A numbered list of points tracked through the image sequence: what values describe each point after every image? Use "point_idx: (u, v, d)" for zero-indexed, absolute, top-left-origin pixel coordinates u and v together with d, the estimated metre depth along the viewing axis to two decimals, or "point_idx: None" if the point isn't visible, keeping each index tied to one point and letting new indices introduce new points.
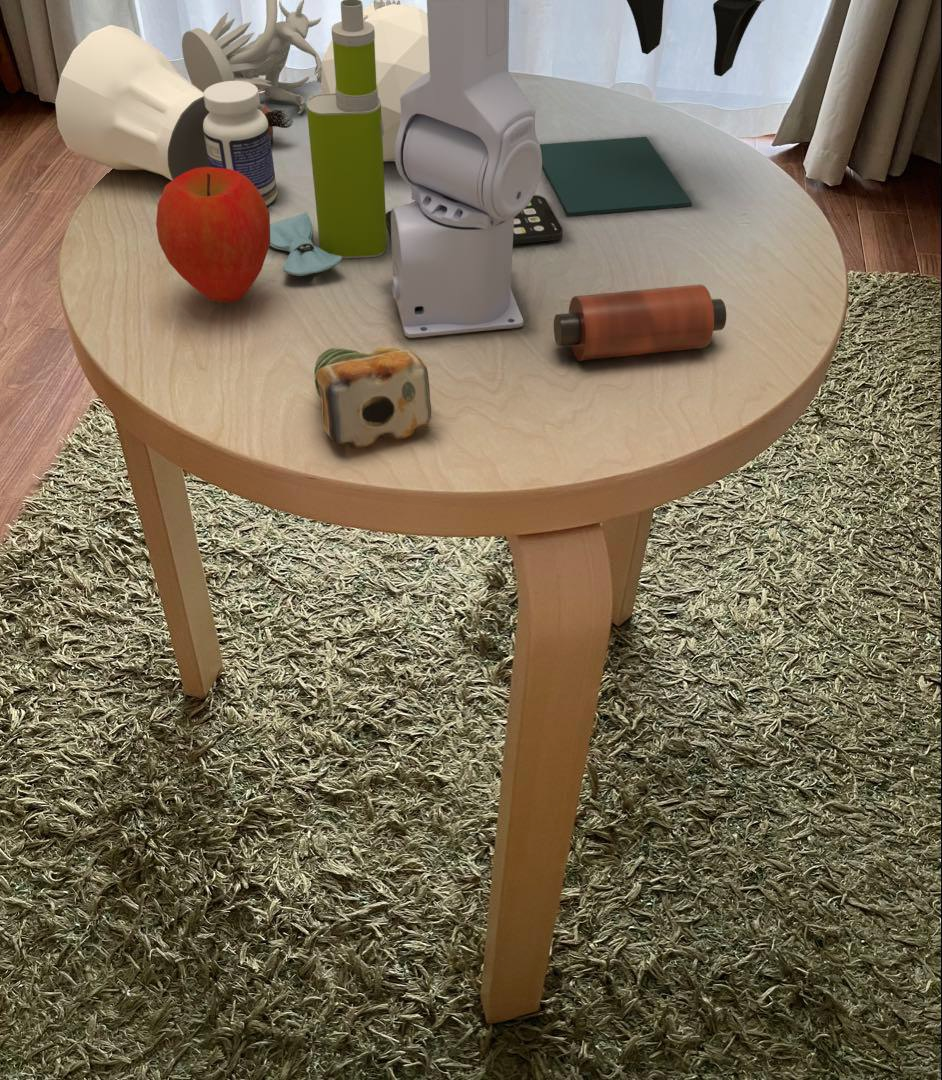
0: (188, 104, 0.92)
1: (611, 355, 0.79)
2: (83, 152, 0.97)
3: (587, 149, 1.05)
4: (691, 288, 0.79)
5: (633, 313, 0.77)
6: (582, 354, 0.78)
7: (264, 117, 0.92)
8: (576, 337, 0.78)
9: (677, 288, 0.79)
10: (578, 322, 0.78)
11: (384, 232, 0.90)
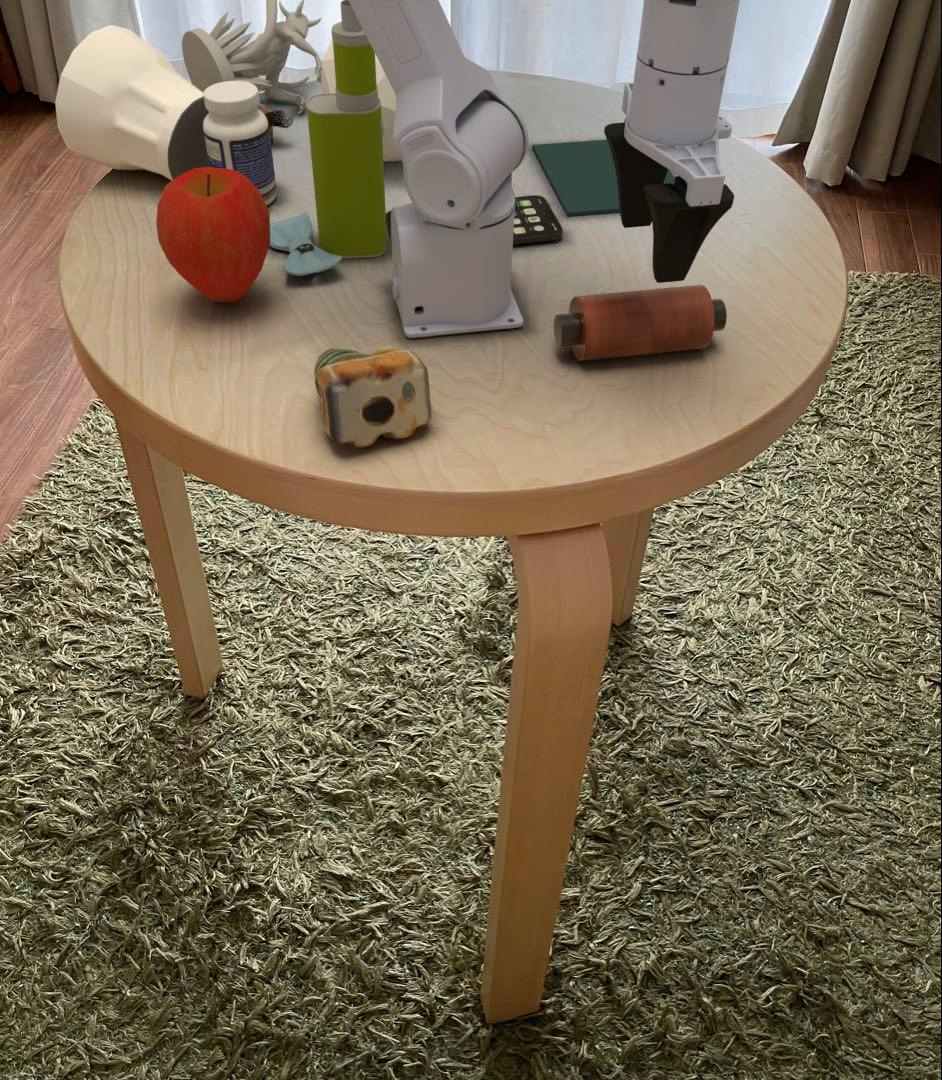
0: (188, 104, 0.92)
1: (611, 356, 0.79)
2: (83, 152, 0.97)
3: (587, 149, 1.05)
4: (692, 289, 0.79)
5: (634, 315, 0.77)
6: (583, 355, 0.78)
7: (264, 117, 0.92)
8: (576, 338, 0.78)
9: (678, 289, 0.79)
10: (578, 323, 0.78)
11: (384, 232, 0.90)
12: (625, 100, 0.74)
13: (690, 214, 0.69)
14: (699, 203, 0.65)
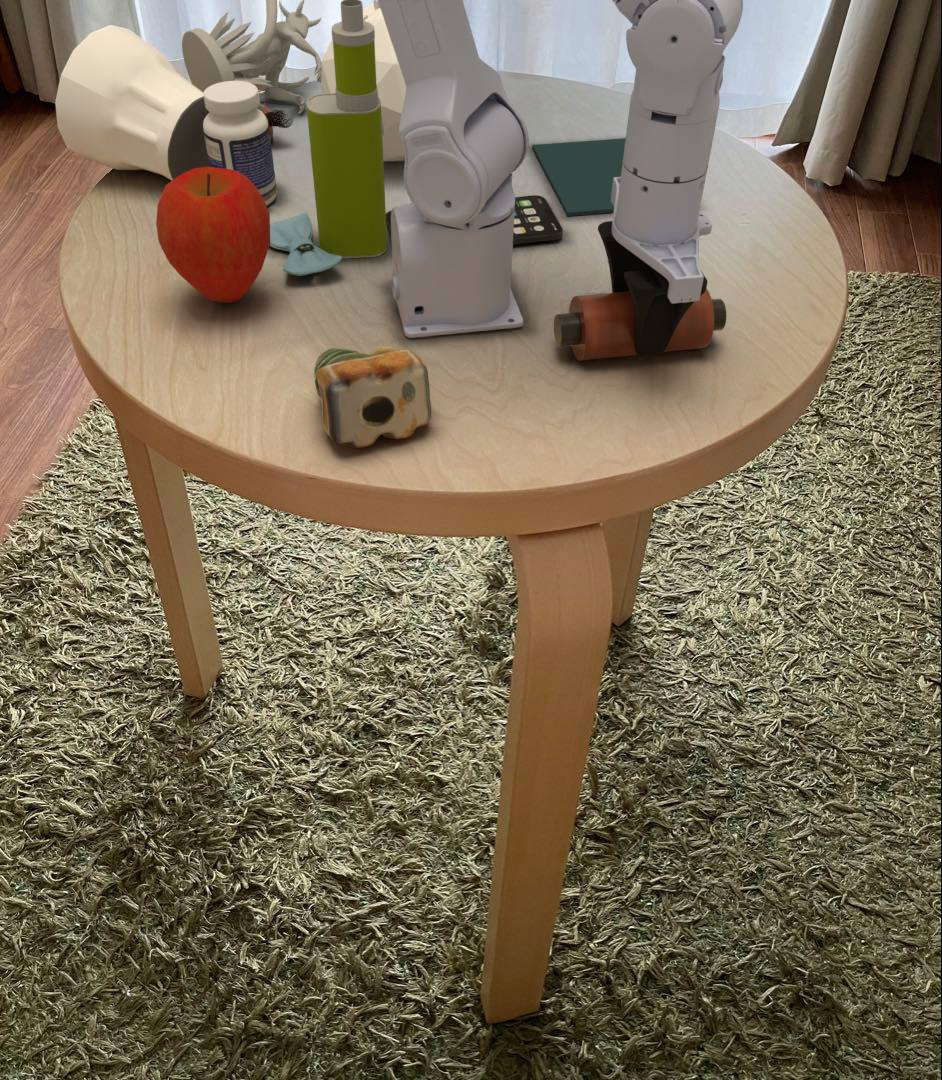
0: (188, 104, 0.92)
1: (611, 355, 0.79)
2: (83, 152, 0.97)
3: (587, 149, 1.05)
4: None
5: None
6: (583, 354, 0.78)
7: (264, 117, 0.92)
8: (576, 337, 0.78)
9: None
10: (578, 322, 0.78)
11: (384, 232, 0.90)
12: (613, 193, 0.79)
13: (667, 296, 0.75)
14: (680, 300, 0.70)
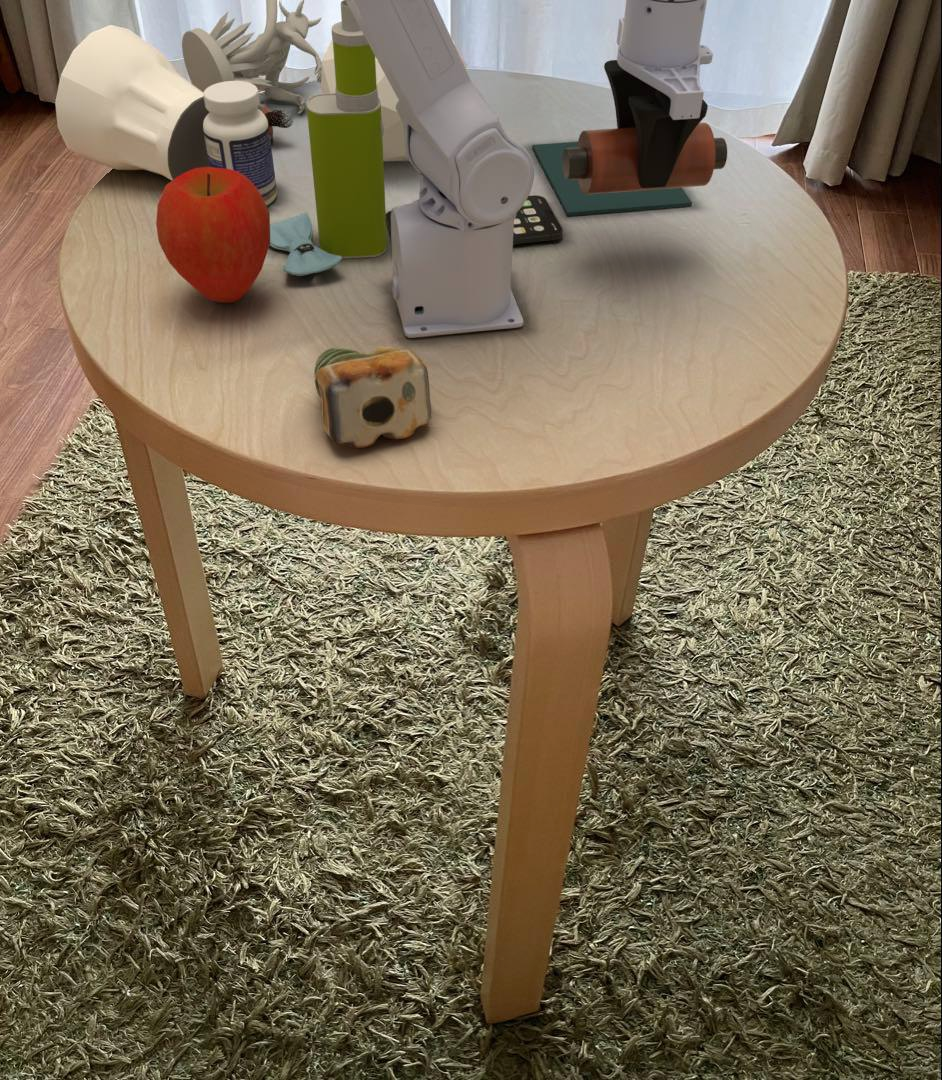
0: (188, 104, 0.92)
1: (617, 188, 0.83)
2: (83, 152, 0.97)
3: None
4: None
5: None
6: (590, 185, 0.82)
7: (264, 117, 0.92)
8: (583, 169, 0.82)
9: None
10: (586, 154, 0.82)
11: (384, 232, 0.90)
12: (619, 34, 0.83)
13: (670, 124, 0.79)
14: (681, 116, 0.74)
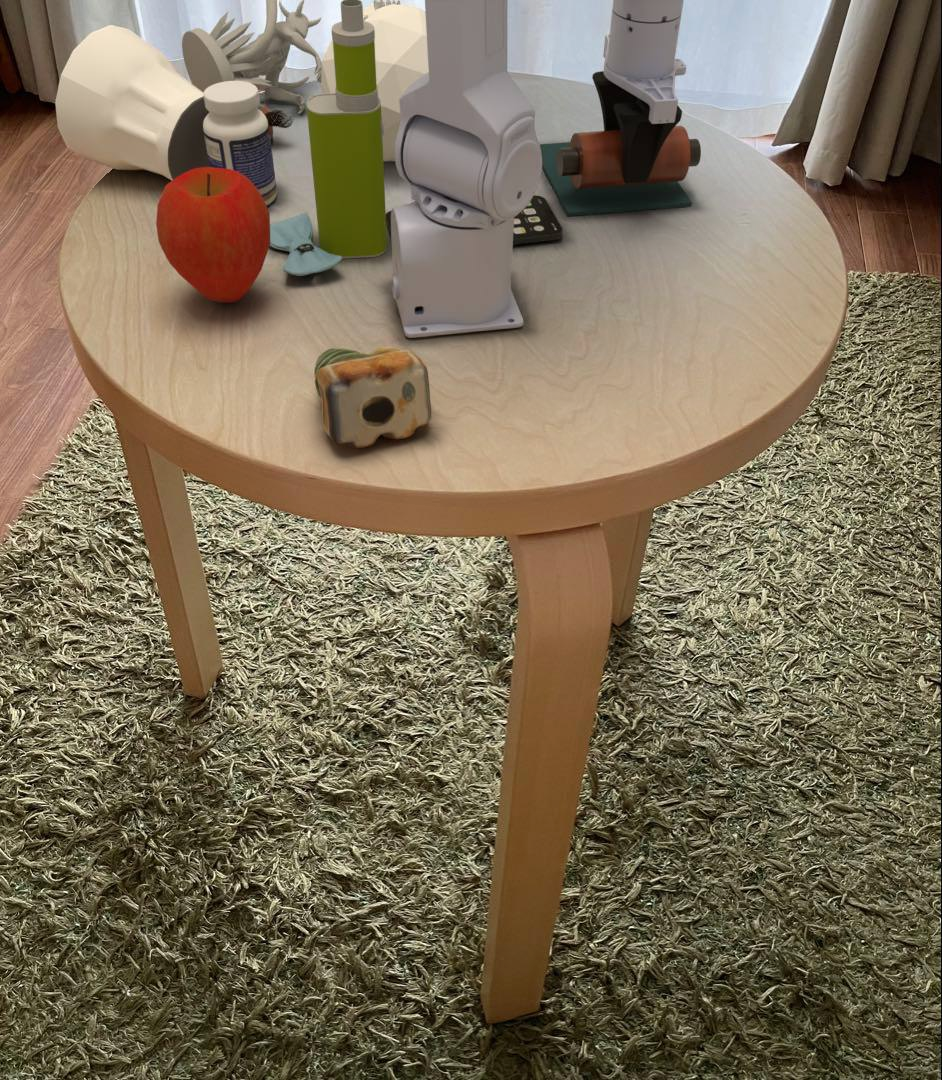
0: (188, 104, 0.92)
1: (604, 183, 0.95)
2: (83, 152, 0.97)
3: None
4: None
5: None
6: (581, 181, 0.94)
7: (264, 117, 0.92)
8: (575, 167, 0.94)
9: None
10: (577, 154, 0.94)
11: (384, 232, 0.90)
12: (605, 48, 0.95)
13: (649, 127, 0.91)
14: (659, 121, 0.86)
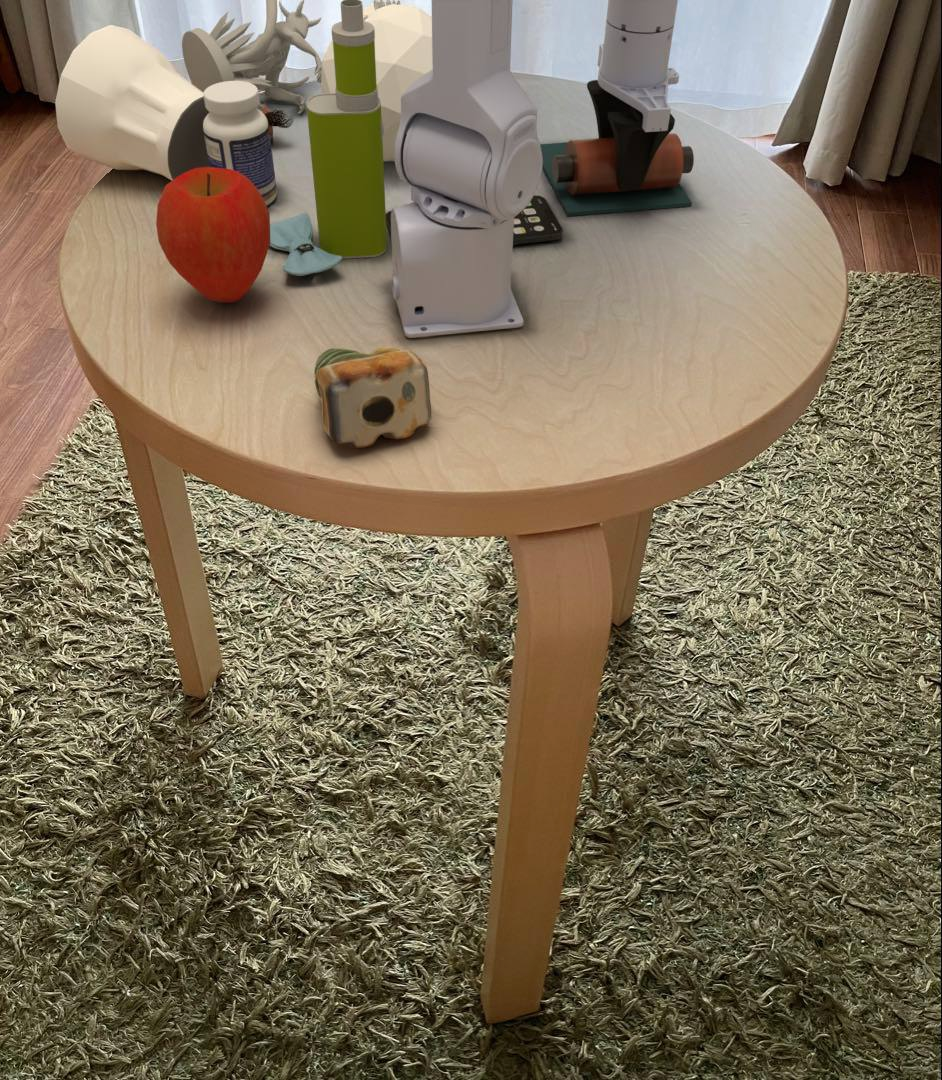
0: (188, 104, 0.92)
1: (599, 190, 0.97)
2: (83, 152, 0.97)
3: None
4: None
5: None
6: (575, 188, 0.96)
7: (264, 117, 0.92)
8: (570, 174, 0.96)
9: None
10: (572, 161, 0.95)
11: (384, 232, 0.90)
12: (600, 57, 0.97)
13: (643, 135, 0.92)
14: (652, 129, 0.88)
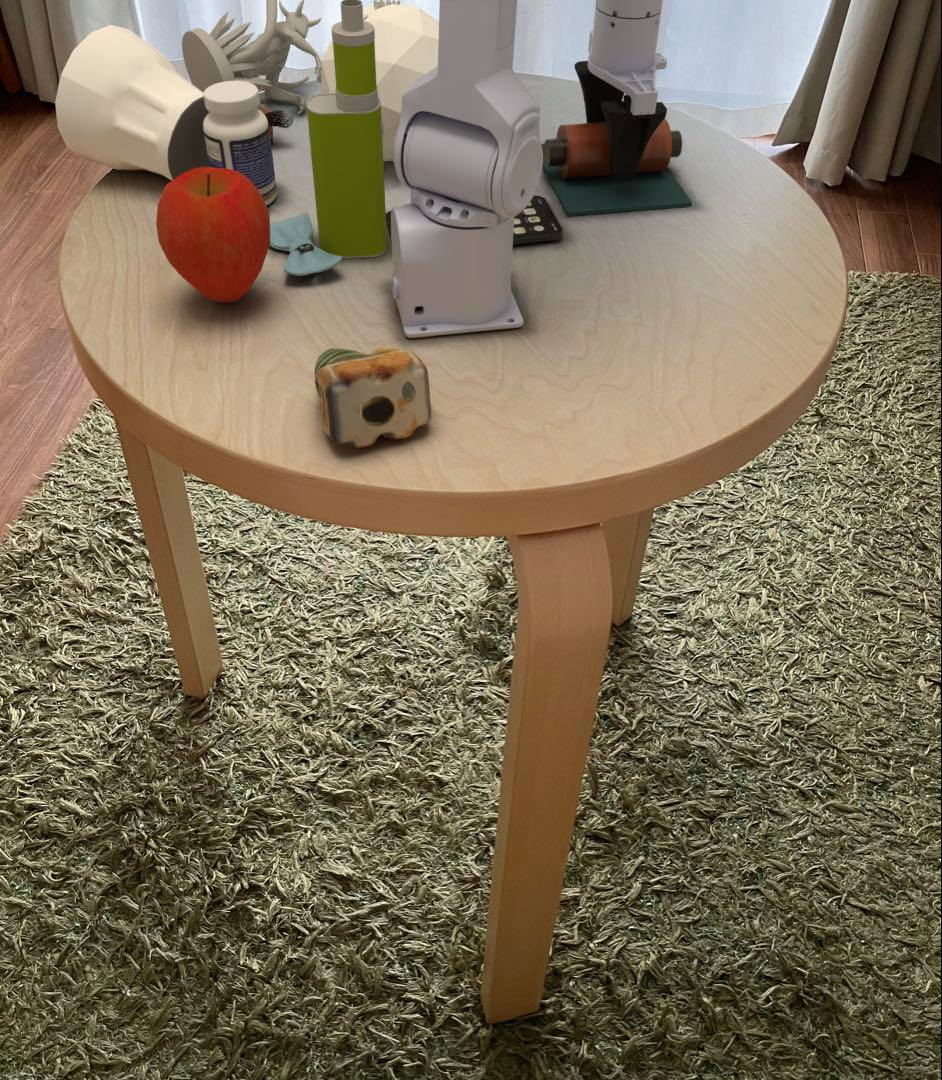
0: (188, 104, 0.92)
1: (589, 173, 0.99)
2: (83, 152, 0.97)
3: None
4: None
5: (607, 137, 0.97)
6: (566, 171, 0.98)
7: (264, 117, 0.92)
8: (561, 157, 0.98)
9: None
10: (563, 145, 0.98)
11: (384, 232, 0.90)
12: (590, 43, 0.99)
13: (636, 124, 0.94)
14: (640, 112, 0.90)
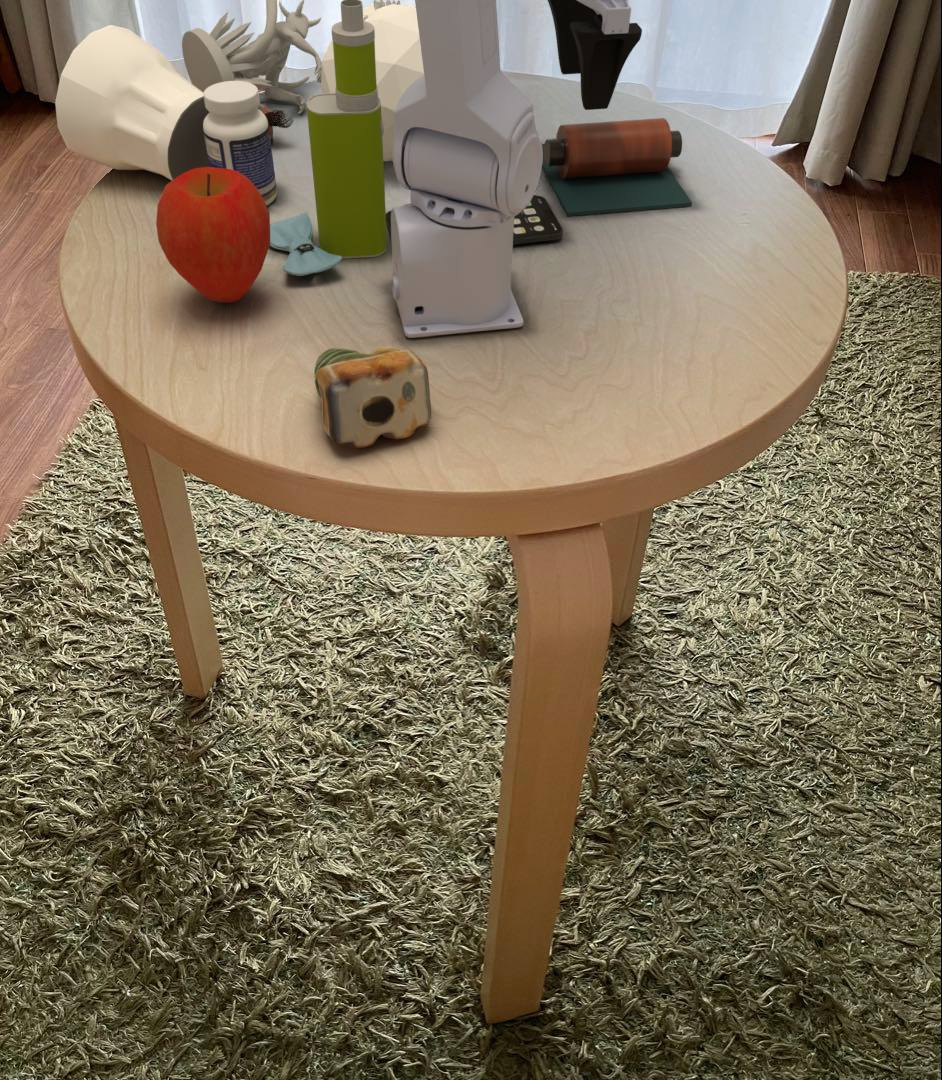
0: (188, 104, 0.92)
1: (589, 174, 0.99)
2: (83, 152, 0.97)
3: None
4: (654, 120, 0.99)
5: (607, 138, 0.97)
6: (566, 171, 0.98)
7: (264, 117, 0.92)
8: (561, 158, 0.98)
9: (643, 120, 0.99)
10: (563, 145, 0.98)
11: (384, 232, 0.90)
12: None
13: (608, 48, 0.86)
14: (612, 31, 0.83)
